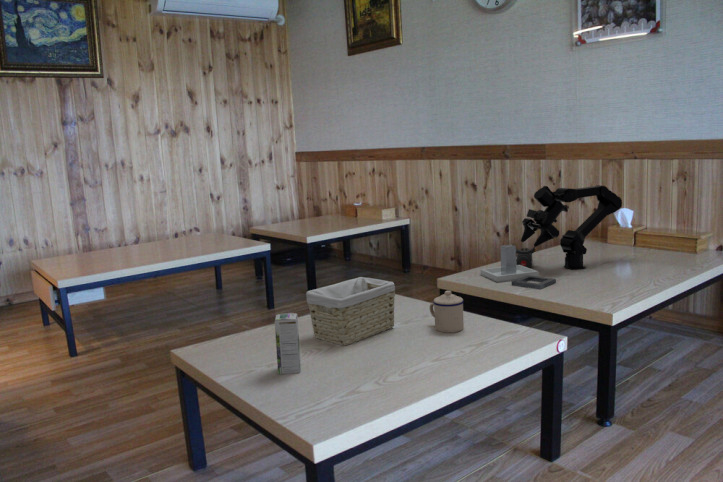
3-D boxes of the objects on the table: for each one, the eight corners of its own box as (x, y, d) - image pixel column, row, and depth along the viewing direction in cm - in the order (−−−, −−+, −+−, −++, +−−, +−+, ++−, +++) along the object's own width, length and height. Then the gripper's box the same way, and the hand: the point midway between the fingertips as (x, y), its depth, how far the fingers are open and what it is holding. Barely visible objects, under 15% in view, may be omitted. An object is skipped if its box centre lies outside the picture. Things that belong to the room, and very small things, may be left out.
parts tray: (519, 270, 255) (519, 264, 255) (538, 277, 241) (538, 271, 240) (480, 275, 251) (480, 269, 250) (497, 282, 236) (497, 276, 236)
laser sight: (536, 260, 274) (536, 238, 273) (535, 271, 253) (535, 247, 252) (514, 260, 277) (514, 239, 276) (511, 271, 256) (511, 247, 254)
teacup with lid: (470, 327, 183) (469, 290, 181) (451, 335, 177) (449, 296, 175) (440, 320, 192) (439, 284, 190) (421, 327, 186) (419, 290, 184)
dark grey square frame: (527, 279, 239) (527, 275, 239) (556, 282, 231) (556, 278, 231) (511, 285, 231) (511, 281, 231) (540, 289, 223) (540, 285, 222)
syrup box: (279, 367, 160) (274, 314, 157) (301, 365, 160) (297, 312, 158) (278, 375, 154) (273, 320, 152) (301, 373, 154) (296, 318, 152)
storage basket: (342, 349, 171) (339, 298, 168) (306, 338, 182) (303, 290, 180) (399, 328, 187) (397, 281, 185) (363, 319, 199) (360, 275, 196)
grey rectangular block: (511, 273, 248) (510, 244, 246) (516, 275, 244) (515, 246, 242) (501, 274, 247) (500, 245, 245) (506, 276, 243) (505, 247, 241)
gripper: (525, 199, 252) (503, 228, 251) (552, 204, 235) (528, 236, 234) (542, 215, 256) (519, 244, 256) (569, 221, 239) (546, 253, 238)
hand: (528, 243), depth 246 cm, fingers open, 9 cm apart
